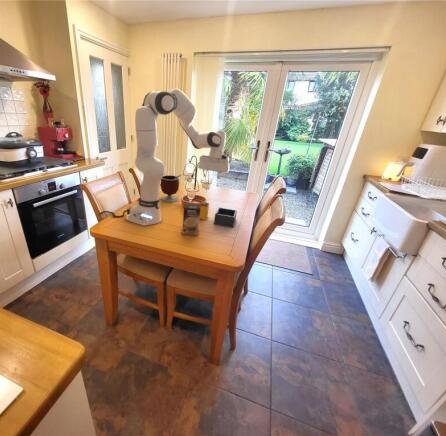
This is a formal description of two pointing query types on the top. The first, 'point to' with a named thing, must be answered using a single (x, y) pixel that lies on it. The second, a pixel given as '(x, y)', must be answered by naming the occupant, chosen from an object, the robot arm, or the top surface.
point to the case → (225, 217)
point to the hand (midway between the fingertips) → (211, 177)
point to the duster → (204, 210)
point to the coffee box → (191, 219)
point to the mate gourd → (170, 187)
